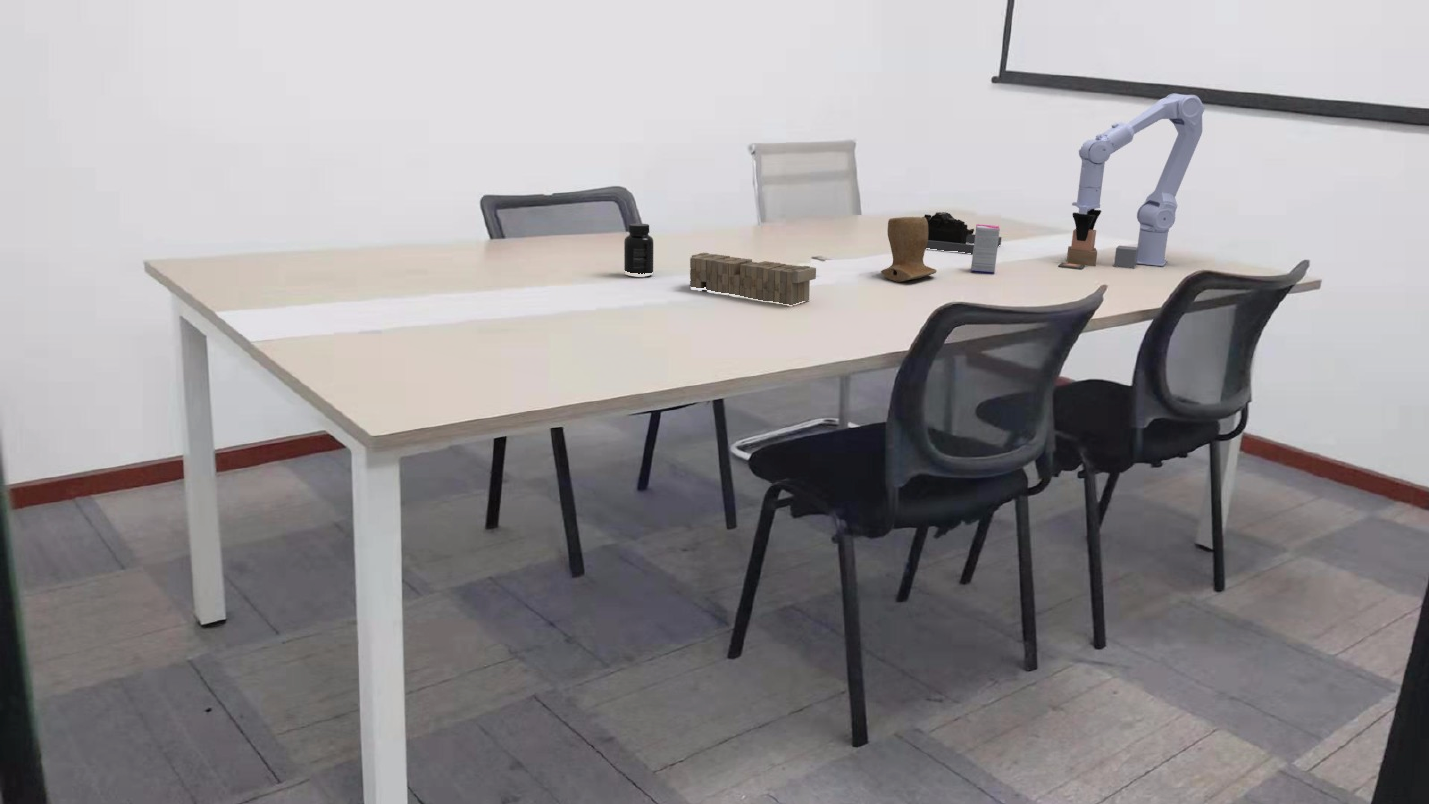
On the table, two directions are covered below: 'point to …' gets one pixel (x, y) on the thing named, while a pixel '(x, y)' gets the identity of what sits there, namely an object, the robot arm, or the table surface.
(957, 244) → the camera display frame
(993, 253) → the supplement box
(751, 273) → the block tower
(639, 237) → the supplement bottle
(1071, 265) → the card
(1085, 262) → the walnut block
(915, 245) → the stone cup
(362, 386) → the table surface
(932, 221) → the film camera
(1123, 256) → the charcoal cube
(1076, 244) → the terracotta cube
